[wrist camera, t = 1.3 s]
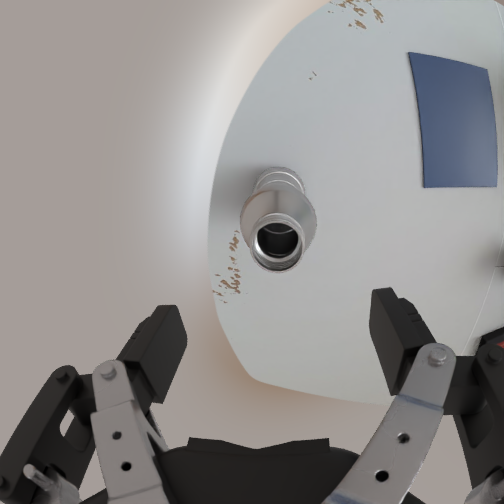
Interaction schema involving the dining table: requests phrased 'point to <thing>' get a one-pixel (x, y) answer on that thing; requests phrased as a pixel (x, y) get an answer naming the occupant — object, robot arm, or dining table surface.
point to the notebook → (493, 338)
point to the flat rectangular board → (455, 122)
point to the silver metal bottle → (278, 220)
